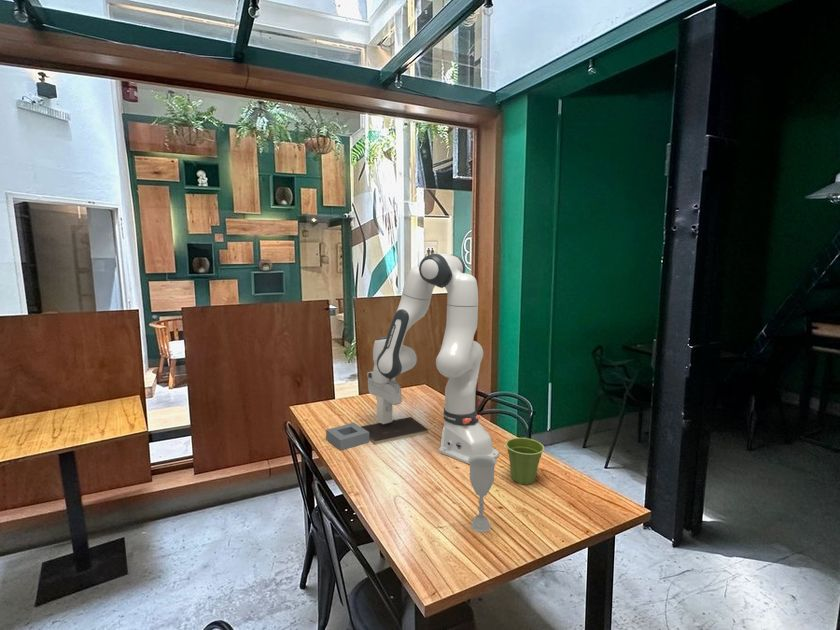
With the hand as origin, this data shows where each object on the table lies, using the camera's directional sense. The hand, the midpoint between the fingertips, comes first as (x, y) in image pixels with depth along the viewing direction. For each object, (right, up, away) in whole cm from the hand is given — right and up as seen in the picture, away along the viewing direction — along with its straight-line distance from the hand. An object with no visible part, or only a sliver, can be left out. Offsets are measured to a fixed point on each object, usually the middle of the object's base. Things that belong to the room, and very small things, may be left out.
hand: (384, 409), depth 175 cm
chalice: (+30, -17, -63) cm, 72 cm away
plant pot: (+47, -14, -39) cm, 63 cm away
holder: (-13, -10, -11) cm, 20 cm away
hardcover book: (+4, -9, -2) cm, 10 cm away
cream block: (0, -5, +1) cm, 5 cm away
